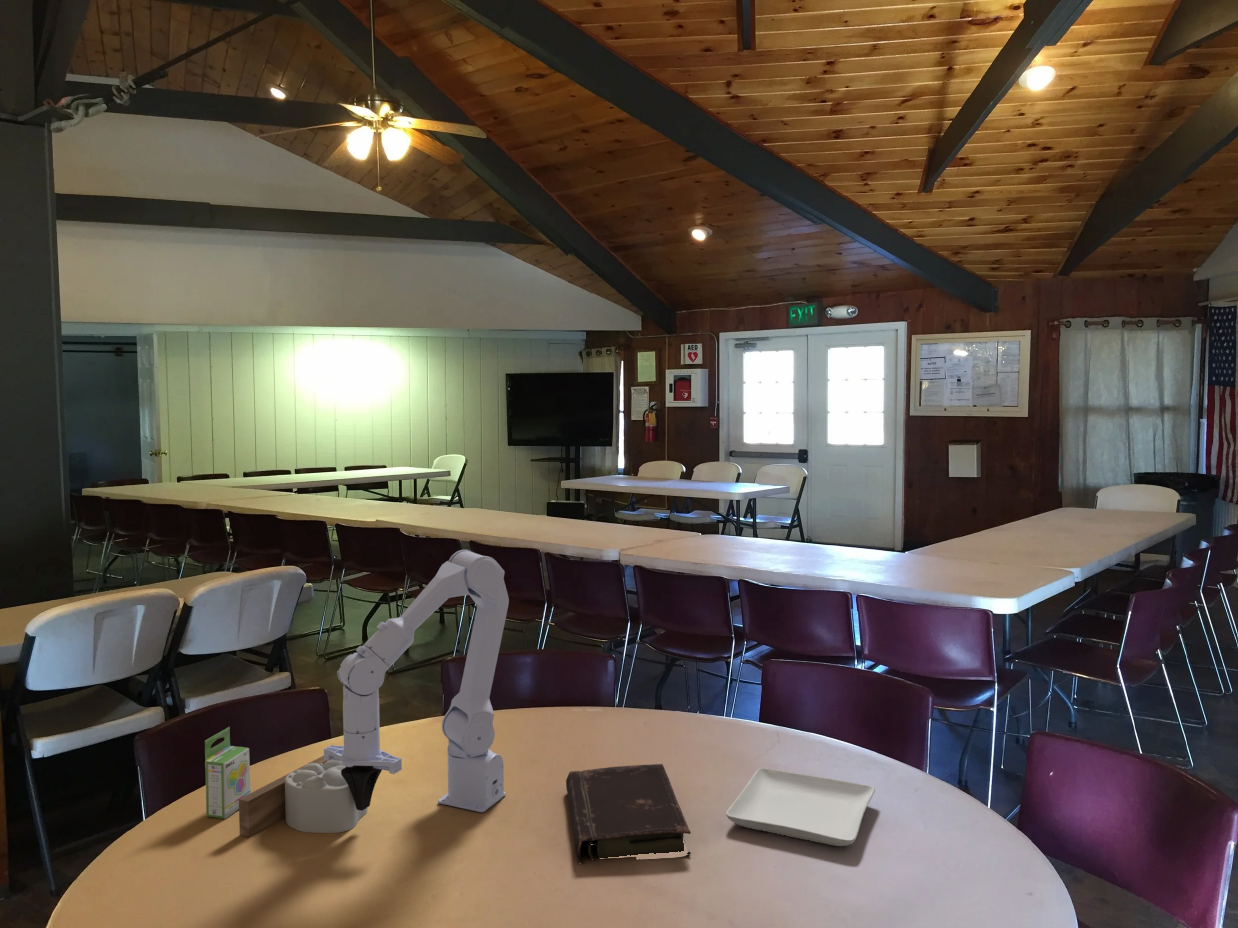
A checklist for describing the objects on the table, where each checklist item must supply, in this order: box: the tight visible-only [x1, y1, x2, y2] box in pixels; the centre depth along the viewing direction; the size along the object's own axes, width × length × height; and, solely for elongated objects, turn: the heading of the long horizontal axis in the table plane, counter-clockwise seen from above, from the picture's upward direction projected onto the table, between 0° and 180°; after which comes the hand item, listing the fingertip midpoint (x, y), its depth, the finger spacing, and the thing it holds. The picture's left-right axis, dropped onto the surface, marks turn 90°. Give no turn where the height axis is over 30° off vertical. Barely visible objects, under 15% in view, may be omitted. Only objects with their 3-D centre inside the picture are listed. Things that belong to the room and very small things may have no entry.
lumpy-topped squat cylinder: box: [285, 759, 368, 834], centre depth 146 cm, size 10×13×9 cm
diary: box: [565, 763, 692, 864], centre depth 144 cm, size 19×25×5 cm
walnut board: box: [238, 755, 327, 838], centre depth 148 cm, size 2×20×6 cm, turn 156°
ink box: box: [204, 726, 252, 820], centre depth 149 cm, size 7×4×13 cm, turn 168°
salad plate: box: [725, 767, 876, 847], centre depth 146 cm, size 21×21×3 cm
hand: (363, 807), depth 142 cm, fingers closed
